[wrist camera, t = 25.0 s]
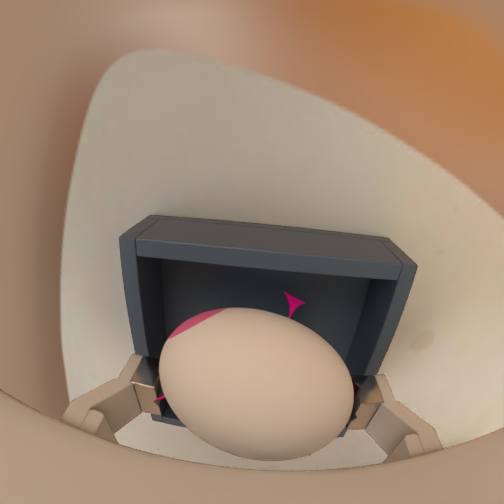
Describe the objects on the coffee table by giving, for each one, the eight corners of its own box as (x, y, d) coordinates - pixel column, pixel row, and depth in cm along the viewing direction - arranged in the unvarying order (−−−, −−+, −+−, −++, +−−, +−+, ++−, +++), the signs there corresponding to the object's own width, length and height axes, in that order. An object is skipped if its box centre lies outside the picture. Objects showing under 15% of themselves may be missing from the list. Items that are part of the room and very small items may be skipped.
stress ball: (190, 299, 16) (137, 406, 12) (228, 217, 9) (124, 419, 5) (305, 354, 16) (270, 457, 13) (404, 314, 10) (368, 487, 6)
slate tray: (165, 384, 16) (152, 420, 14) (149, 214, 12) (118, 236, 10) (336, 399, 16) (343, 437, 13) (388, 237, 12) (418, 265, 9)
